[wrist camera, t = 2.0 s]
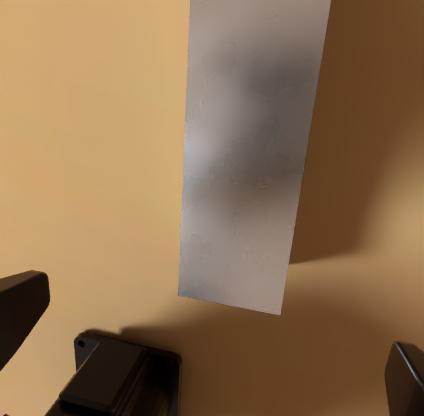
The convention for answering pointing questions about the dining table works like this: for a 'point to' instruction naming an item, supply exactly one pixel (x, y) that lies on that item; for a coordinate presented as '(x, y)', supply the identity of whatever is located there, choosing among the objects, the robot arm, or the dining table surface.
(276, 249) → the grey banded block
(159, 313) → the dining table surface
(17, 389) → the dining table surface
